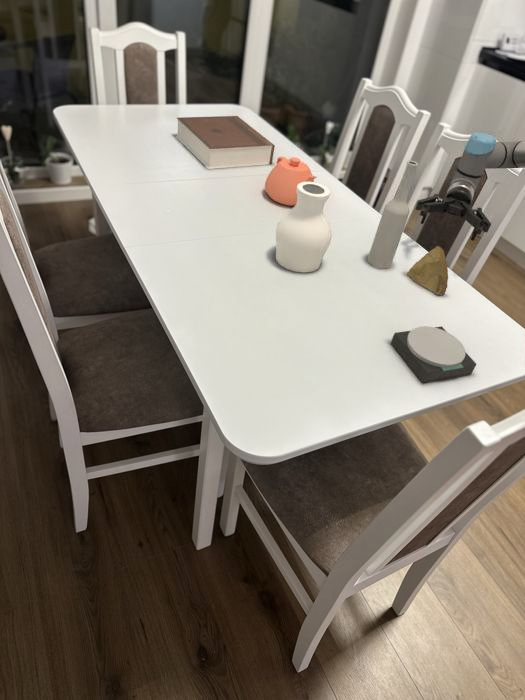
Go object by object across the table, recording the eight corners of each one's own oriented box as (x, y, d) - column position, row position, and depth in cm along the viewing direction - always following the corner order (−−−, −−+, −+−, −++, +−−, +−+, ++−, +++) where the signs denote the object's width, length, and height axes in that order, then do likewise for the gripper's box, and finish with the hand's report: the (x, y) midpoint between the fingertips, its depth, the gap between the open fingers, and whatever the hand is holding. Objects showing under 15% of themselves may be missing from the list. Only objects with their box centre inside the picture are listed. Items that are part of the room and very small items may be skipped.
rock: (459, 291, 138) (448, 265, 144) (451, 269, 132) (441, 243, 139) (418, 306, 142) (409, 280, 148) (408, 285, 136) (400, 259, 142)
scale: (472, 375, 117) (479, 361, 114) (423, 384, 112) (429, 370, 109) (437, 336, 126) (443, 322, 123) (390, 342, 121) (395, 329, 118)
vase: (333, 260, 145) (352, 190, 132) (308, 281, 135) (326, 208, 122) (288, 240, 149) (302, 170, 136) (260, 259, 140) (273, 186, 127)
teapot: (328, 213, 166) (338, 174, 158) (284, 217, 159) (292, 177, 151) (293, 181, 180) (301, 144, 172) (252, 184, 173) (257, 146, 165)
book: (235, 133, 205) (237, 115, 201) (271, 164, 188) (274, 145, 184) (175, 136, 194) (176, 117, 190) (208, 168, 177) (210, 149, 173)
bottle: (363, 255, 149) (394, 156, 131) (384, 255, 151) (418, 157, 133) (373, 269, 144) (407, 167, 126) (395, 268, 146) (431, 169, 128)
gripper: (495, 223, 157) (489, 255, 141) (413, 197, 162) (398, 225, 146) (507, 200, 152) (502, 230, 136) (421, 173, 157) (407, 199, 141)
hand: (448, 227), depth 141 cm, fingers open, 13 cm apart
